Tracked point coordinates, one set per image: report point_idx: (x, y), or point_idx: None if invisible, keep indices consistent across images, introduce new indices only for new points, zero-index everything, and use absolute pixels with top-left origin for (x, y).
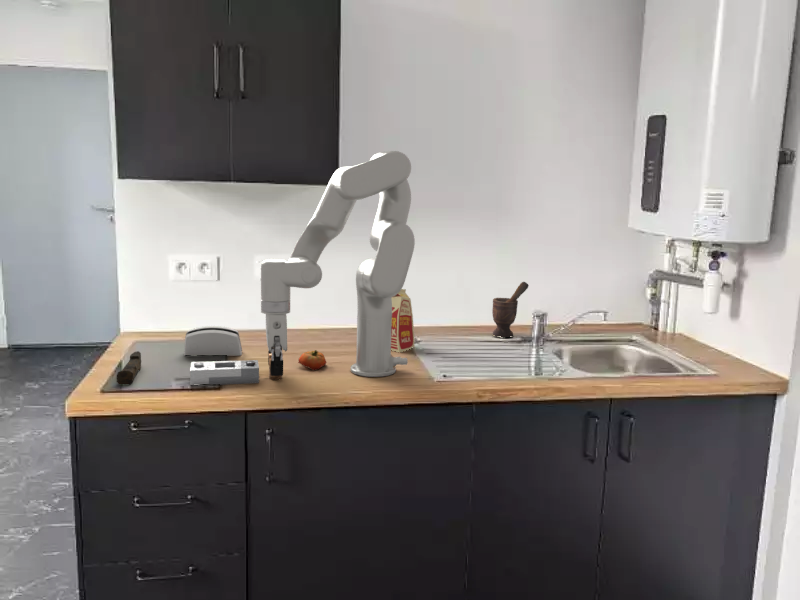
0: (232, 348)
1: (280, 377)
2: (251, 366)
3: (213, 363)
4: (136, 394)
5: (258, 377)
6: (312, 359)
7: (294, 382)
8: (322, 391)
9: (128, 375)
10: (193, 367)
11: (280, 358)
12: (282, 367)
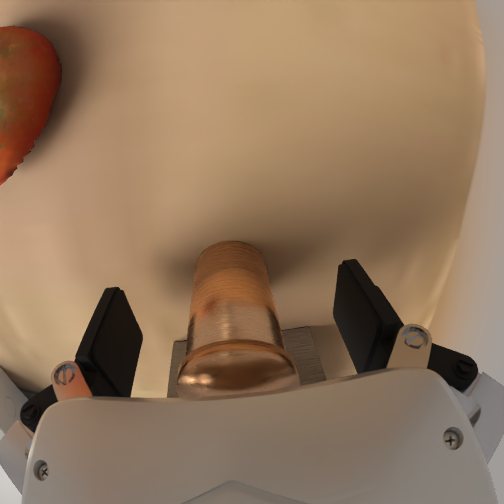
0: (7, 397)
1: (255, 254)
2: None
3: None
4: None
5: (314, 346)
6: (9, 87)
7: (326, 171)
8: (467, 66)
9: None
10: None
11: (441, 346)
12: (373, 289)
